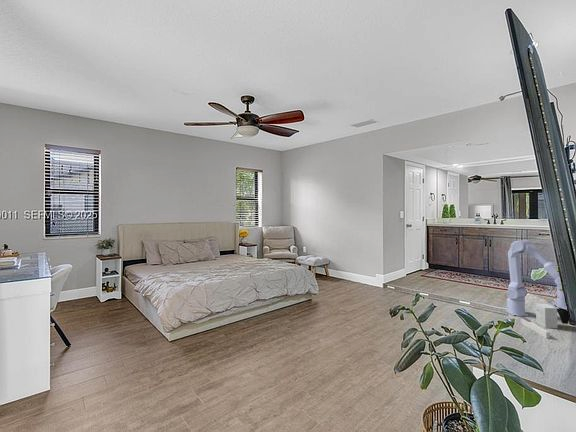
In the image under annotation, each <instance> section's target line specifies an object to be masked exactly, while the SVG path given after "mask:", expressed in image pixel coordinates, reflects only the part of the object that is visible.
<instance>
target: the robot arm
mask: <svg viewBox="0 0 576 432" xmlns="http://www.w3.org/2000/svg"><path fill="white" fill-rule="evenodd" d="M522 254H528V255H531V256H533V258H535V259H536V260H537V261H538V262H539V263H540V264H541V265H543V270H545V272H546V273H548V275H549V276H550V277H551V278H552V279H554V283H555V285H556V295H557V296H556V297H557V298H556V299H557V300H556V301H552V306H553V307H556V308H557V307H558V308H557V315H558V316H559V318H560V322H561V324H564V325H568V324H569V323H570V319H569V315H568V310H567V306H566V303H565V299H564V295H563V290H562V285H561V281H560V277H559V274H558V272H557V271H558V270H557V264H558V263H555V262H554V261H552V262H551V261H550V260H549V259H548V258H547V257H546V256H545V255H544V254H543V253H542V251H540V249H538V248H537V245H536V244H534V243H533V242H532V241H531V240H529V239H521V240H516V241H513V242H512V243H510V247H509V250H508V251H507V258H508V259H507V261H508V269H509V278H510V279H509V280H510V283H509V284H508V289H507V291H506V294H507V295H506V296H507V299H506V309H505V312H507V313H509V314H511V315H512V316H514V315H516V316H515V317H520V316H523V317H529V316H530V315H529V314H527V313H526V297H527V295H528V291H527V289H526V288H525V284H524V283H523V281H522V272H521V260H520V259H521V257H520V256H521V255H522Z"/></svg>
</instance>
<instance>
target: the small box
mask: <svg viewBox="0 0 576 432" xmlns="http://www.w3.org/2000/svg"><path fill="white" fill-rule="evenodd" d="M557 309H558V308H557V307H556V306H553V305H550V304H548V303H535V316H536V317H535V321H536V324H537V325H539V326H540V327H542V328H544V329H558V328H559V327H558V312H557Z"/></svg>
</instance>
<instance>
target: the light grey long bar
mask: <svg viewBox="0 0 576 432" xmlns="http://www.w3.org/2000/svg"><path fill="white" fill-rule="evenodd" d="M519 318H520V323H521V324H522V325H524V326H525V327H527V328H528V329H530V330H532V331H533V332H536V333H537V335H540V336H542V337H543V338H545V339H551V332H550V331H549V330H547V329H546V328H544V327H542V326H541V325H539V324H537V323H534V322H532V320H530V319H528V318H527V317H526V316H519Z"/></svg>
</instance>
